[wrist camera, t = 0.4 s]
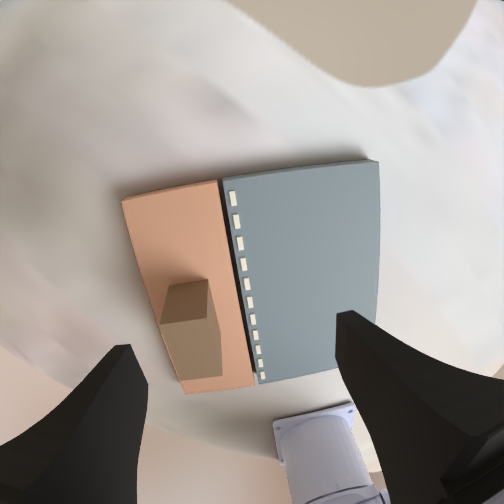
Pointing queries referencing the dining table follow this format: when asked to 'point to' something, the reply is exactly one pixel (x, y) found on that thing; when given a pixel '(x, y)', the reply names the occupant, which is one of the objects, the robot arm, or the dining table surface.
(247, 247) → the board
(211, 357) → the stub
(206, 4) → the dining table surface
